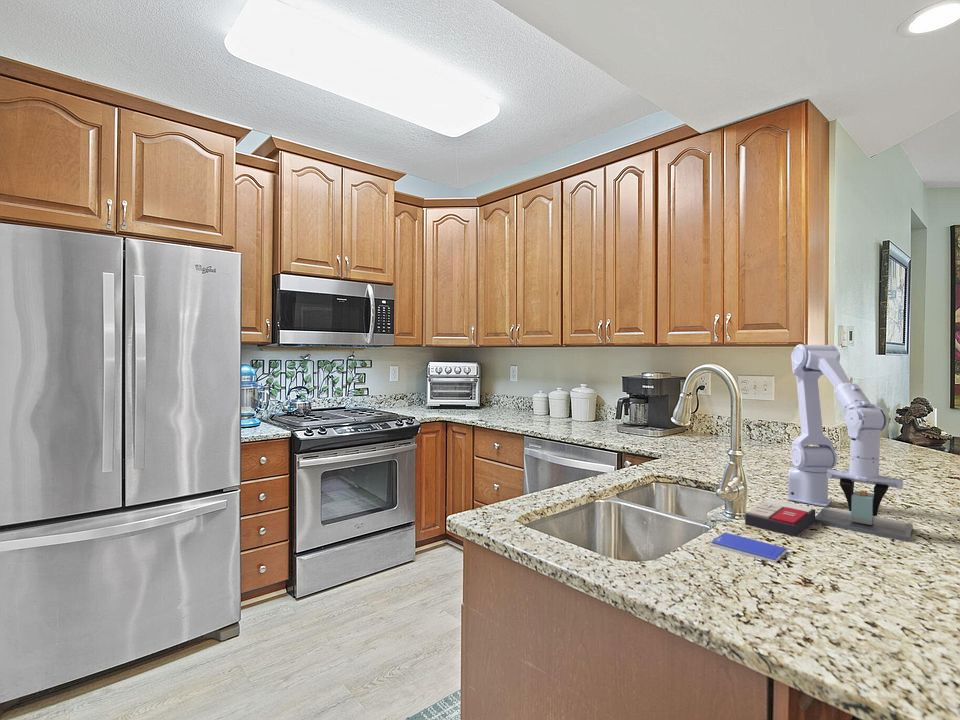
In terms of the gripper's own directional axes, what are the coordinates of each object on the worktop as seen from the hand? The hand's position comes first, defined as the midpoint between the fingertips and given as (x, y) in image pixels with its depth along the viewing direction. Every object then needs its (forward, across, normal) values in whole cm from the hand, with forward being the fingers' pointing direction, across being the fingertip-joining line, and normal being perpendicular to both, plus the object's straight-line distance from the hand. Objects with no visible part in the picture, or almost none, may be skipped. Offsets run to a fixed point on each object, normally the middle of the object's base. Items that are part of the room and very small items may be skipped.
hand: (863, 512), depth 124 cm
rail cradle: (+3, 0, 0) cm, 3 cm away
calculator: (+4, -15, -12) cm, 20 cm away
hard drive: (+4, -16, -36) cm, 39 cm away
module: (+2, 0, 0) cm, 2 cm away
